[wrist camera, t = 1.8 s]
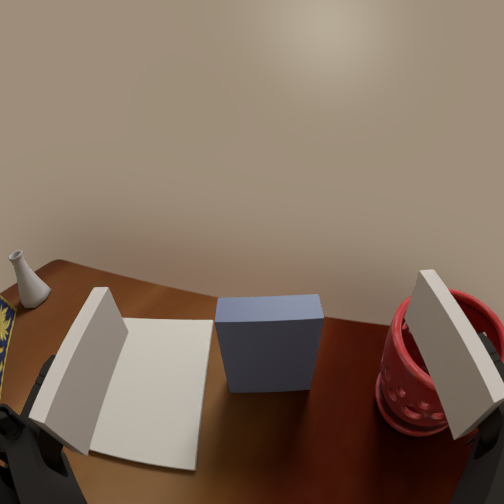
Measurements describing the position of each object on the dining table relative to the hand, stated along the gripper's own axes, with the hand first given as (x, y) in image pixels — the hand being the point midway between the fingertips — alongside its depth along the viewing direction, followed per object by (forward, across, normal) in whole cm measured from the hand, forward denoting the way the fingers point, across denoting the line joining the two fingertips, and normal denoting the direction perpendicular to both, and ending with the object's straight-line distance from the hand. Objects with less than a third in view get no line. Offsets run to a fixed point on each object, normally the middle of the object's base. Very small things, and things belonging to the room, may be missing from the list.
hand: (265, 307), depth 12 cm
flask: (+24, -44, -20) cm, 54 cm away
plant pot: (+5, +17, -22) cm, 28 cm away
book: (+10, 0, -21) cm, 23 cm away
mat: (+9, -14, -21) cm, 27 cm away
